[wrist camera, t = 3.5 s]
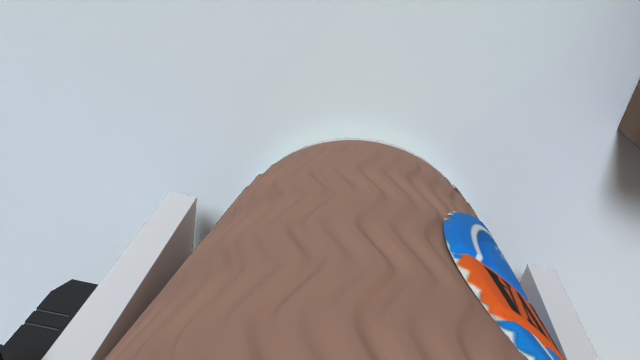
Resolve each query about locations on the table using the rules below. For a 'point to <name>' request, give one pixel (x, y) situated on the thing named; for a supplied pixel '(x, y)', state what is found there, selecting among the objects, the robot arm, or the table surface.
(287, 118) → the table surface
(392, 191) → the coffee cup
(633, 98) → the stand
